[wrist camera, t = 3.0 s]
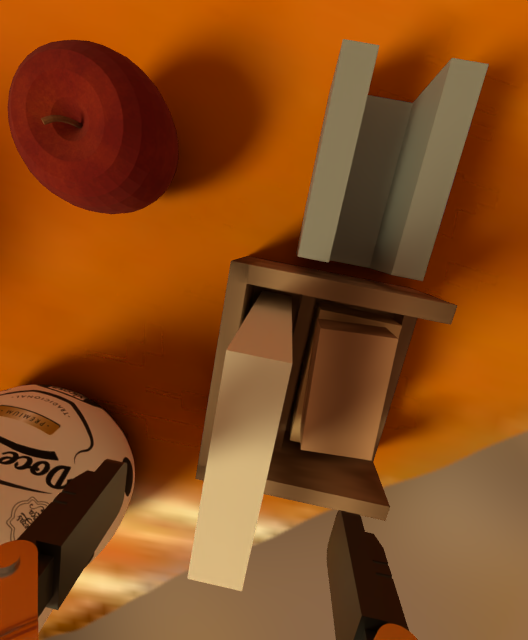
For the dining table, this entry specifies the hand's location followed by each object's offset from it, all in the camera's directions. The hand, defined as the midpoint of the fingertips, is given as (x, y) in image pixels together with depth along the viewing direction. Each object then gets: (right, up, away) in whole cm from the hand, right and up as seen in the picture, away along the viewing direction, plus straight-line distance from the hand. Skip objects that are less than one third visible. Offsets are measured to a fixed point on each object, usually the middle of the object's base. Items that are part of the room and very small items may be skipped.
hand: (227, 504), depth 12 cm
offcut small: (+7, +2, +13) cm, 15 cm away
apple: (-9, +20, +15) cm, 27 cm away
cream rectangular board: (+1, +4, +17) cm, 17 cm away
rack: (+5, +3, +18) cm, 19 cm away
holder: (+9, +17, +14) cm, 24 cm away
